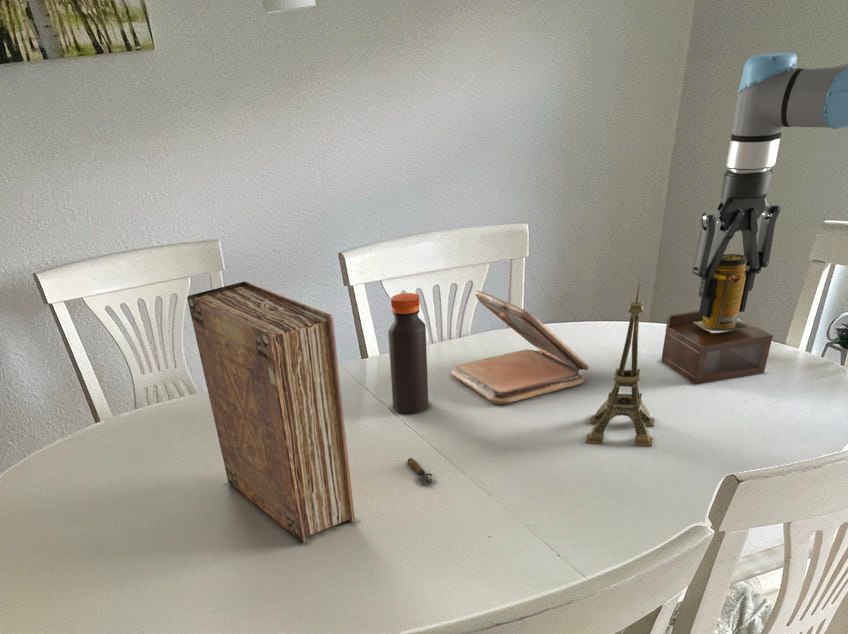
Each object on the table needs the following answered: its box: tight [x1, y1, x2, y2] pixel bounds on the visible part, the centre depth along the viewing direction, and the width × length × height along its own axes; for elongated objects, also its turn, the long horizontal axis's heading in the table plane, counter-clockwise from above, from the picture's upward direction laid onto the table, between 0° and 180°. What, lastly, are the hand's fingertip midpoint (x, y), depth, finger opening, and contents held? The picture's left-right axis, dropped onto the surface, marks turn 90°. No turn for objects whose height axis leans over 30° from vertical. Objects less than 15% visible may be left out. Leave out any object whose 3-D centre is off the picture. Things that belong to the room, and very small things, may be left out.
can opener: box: [407, 457, 433, 486], centre depth 127 cm, size 9×2×1 cm, turn 14°
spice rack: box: [660, 309, 774, 385], centre depth 148 cm, size 13×14×9 cm
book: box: [186, 281, 356, 545], centre depth 114 cm, size 25×9×30 cm, turn 34°
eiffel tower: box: [585, 276, 655, 447], centre depth 125 cm, size 11×11×25 cm
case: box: [451, 290, 590, 405], centre depth 149 cm, size 20×21×16 cm
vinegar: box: [387, 292, 429, 415], centre depth 142 cm, size 7×7×20 cm
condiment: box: [694, 253, 757, 333], centre depth 142 cm, size 7×8×12 cm
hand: (721, 312), depth 145 cm, fingers closed on condiment, 6 cm apart
